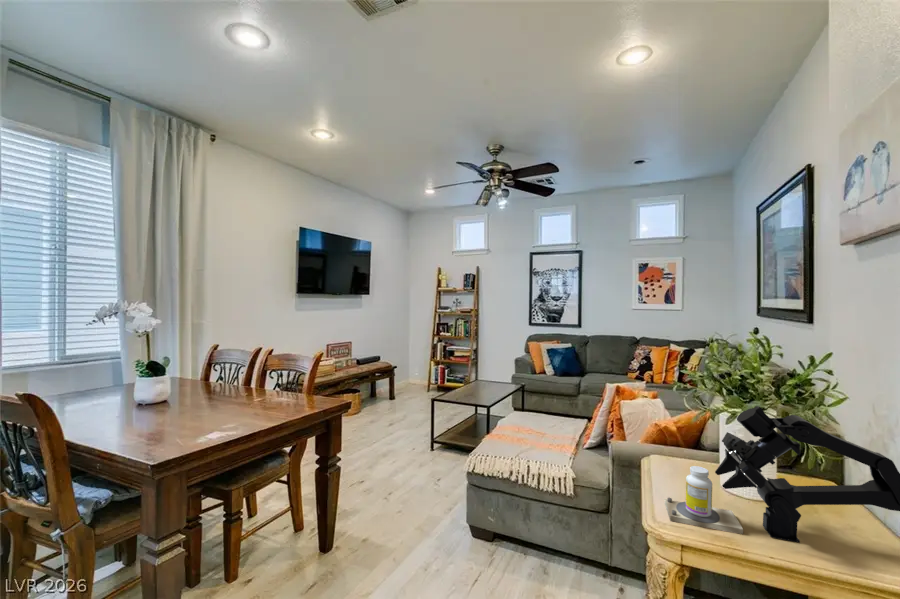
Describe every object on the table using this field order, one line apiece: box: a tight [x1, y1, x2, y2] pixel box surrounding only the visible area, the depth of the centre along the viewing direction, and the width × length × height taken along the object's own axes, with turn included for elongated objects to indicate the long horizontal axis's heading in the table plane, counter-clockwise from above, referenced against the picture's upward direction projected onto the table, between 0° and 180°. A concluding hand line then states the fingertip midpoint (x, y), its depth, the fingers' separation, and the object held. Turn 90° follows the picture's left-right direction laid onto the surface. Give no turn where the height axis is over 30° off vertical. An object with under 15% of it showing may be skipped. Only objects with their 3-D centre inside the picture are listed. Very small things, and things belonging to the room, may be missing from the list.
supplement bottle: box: [685, 465, 713, 517], centre depth 119 cm, size 7×7×13 cm
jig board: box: [664, 497, 744, 535], centre depth 119 cm, size 18×11×2 cm, turn 70°
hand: (719, 480), depth 117 cm, fingers open, 9 cm apart
